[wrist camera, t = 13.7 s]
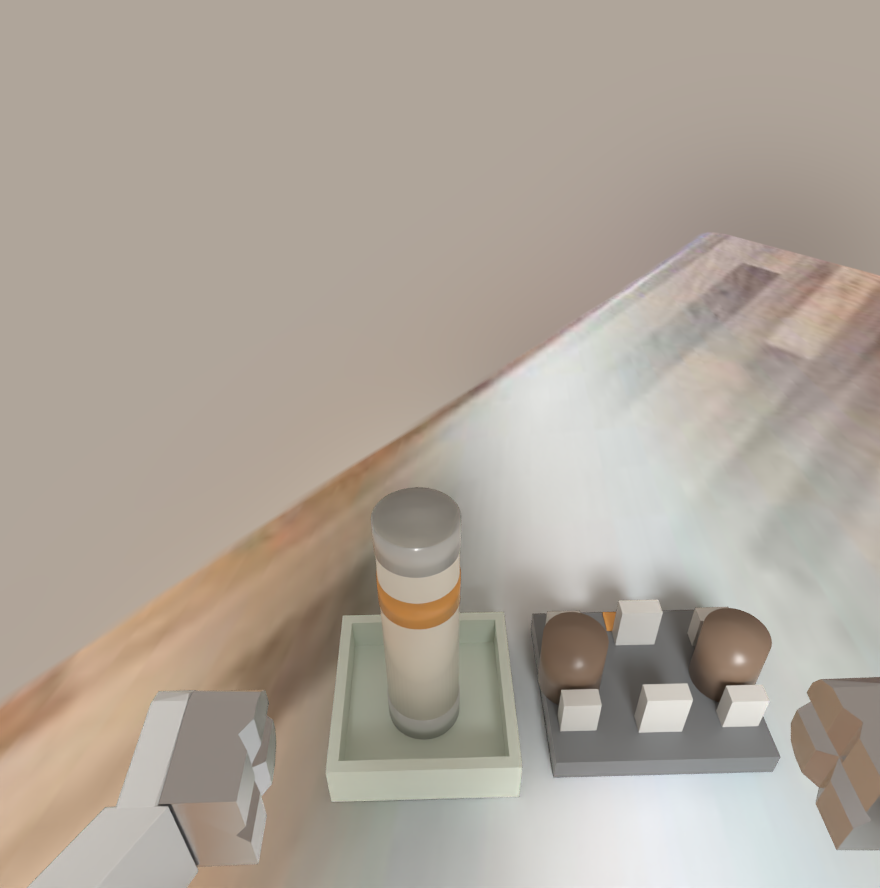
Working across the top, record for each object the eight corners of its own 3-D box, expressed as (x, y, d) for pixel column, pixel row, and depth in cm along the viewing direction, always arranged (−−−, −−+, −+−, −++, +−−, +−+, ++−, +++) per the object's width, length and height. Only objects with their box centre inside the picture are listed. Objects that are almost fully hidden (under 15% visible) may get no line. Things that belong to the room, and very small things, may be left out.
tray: (331, 801, 37) (325, 772, 36) (347, 645, 45) (342, 615, 44) (519, 796, 38) (522, 767, 36) (501, 642, 46) (504, 611, 44)
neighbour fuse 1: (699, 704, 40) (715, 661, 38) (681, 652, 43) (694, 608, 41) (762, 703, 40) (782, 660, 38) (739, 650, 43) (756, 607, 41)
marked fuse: (387, 740, 39) (368, 550, 30) (390, 677, 43) (373, 488, 34) (461, 738, 39) (463, 548, 30) (458, 675, 43) (459, 486, 34)
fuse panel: (553, 777, 38) (561, 731, 36) (530, 628, 46) (535, 582, 44) (772, 771, 38) (796, 725, 36) (712, 624, 46) (728, 577, 44)
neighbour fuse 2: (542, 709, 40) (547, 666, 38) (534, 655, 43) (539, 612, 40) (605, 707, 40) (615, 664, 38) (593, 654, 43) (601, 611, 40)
